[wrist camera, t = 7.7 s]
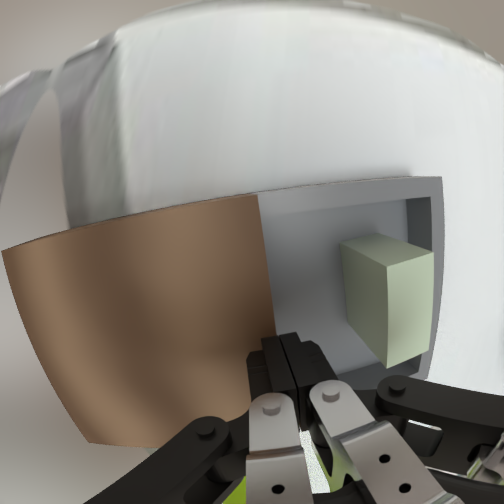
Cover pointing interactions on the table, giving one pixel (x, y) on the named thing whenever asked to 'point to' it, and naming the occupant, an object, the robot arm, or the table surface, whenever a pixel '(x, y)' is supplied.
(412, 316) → the tile
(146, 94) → the table surface
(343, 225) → the box
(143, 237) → the brown flat square block
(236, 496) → the soap dispenser
